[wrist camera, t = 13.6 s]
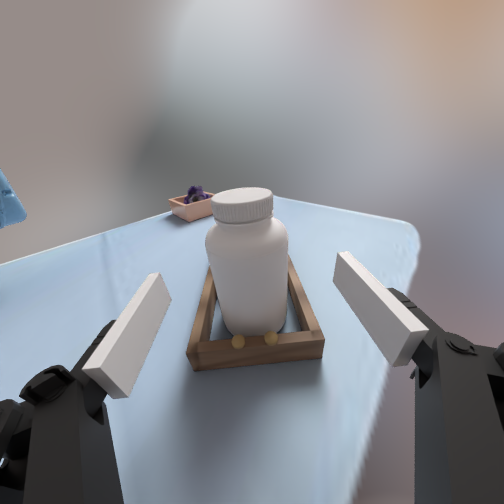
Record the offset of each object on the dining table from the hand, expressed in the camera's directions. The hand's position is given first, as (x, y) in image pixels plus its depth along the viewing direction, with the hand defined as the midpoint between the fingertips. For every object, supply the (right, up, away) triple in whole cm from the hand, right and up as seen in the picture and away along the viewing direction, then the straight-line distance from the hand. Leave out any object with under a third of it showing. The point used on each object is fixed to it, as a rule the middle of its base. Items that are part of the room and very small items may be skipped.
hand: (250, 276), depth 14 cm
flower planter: (-19, +16, +50) cm, 56 cm away
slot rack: (0, -3, +14) cm, 15 cm away
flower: (-19, +16, +51) cm, 57 cm away
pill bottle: (+1, -6, +9) cm, 11 cm away
